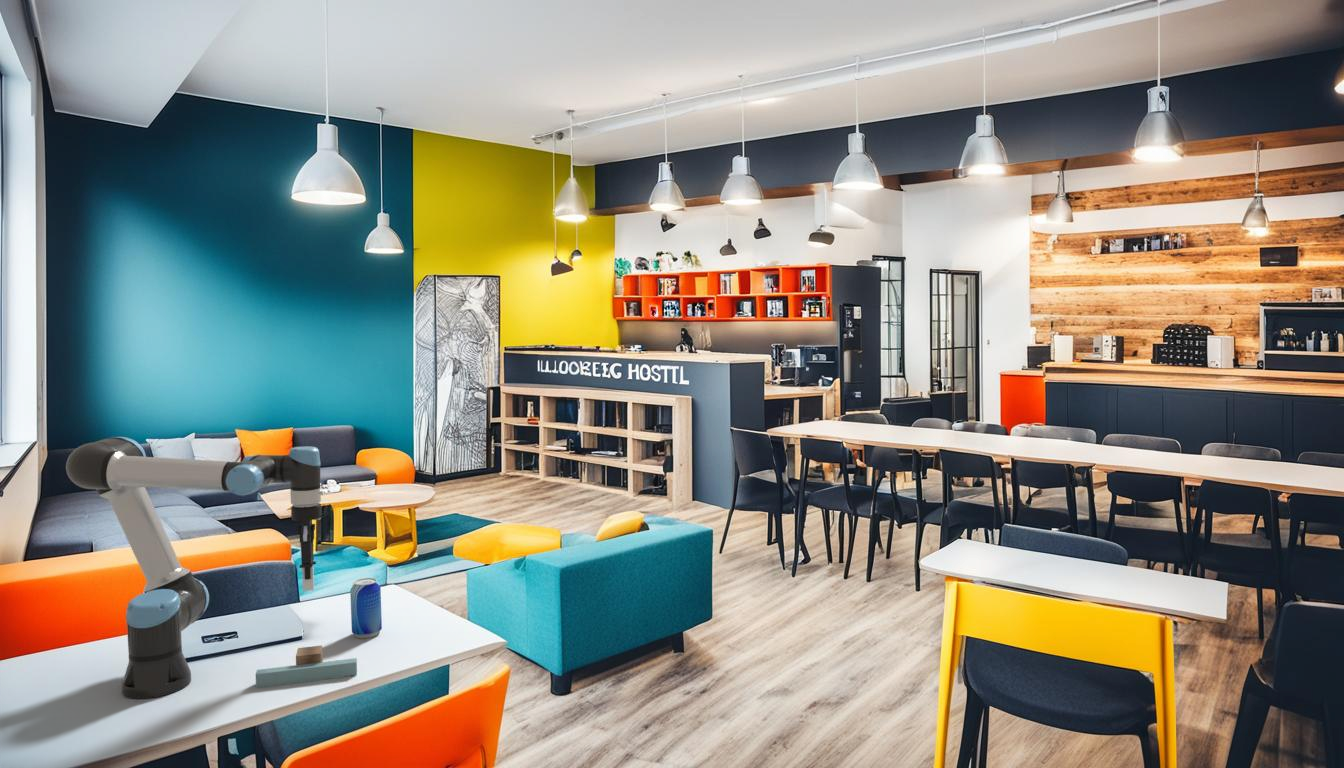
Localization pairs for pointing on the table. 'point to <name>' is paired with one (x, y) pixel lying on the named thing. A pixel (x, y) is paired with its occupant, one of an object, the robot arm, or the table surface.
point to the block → (309, 655)
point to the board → (305, 672)
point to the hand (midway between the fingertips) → (308, 589)
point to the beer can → (366, 608)
